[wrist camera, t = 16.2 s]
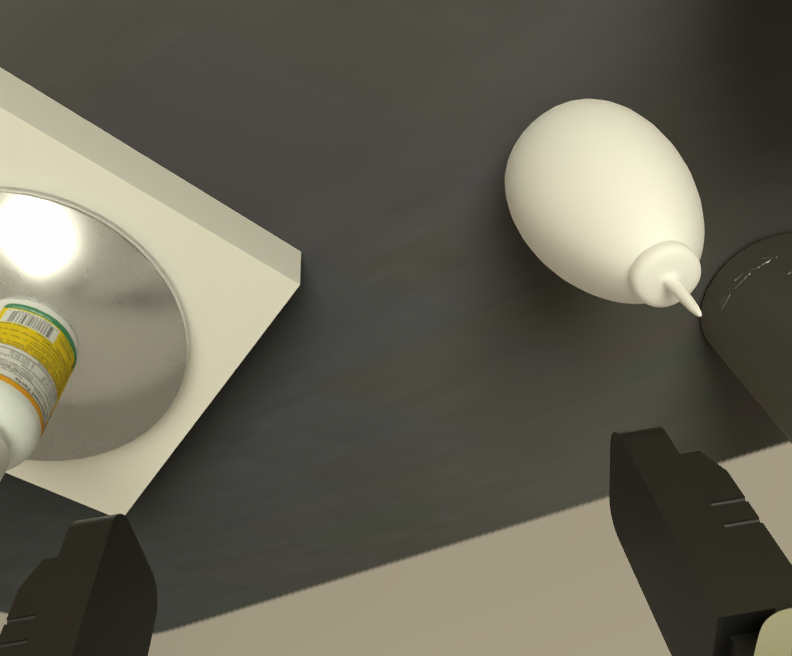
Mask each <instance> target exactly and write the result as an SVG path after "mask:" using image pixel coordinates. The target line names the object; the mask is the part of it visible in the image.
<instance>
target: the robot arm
mask: <svg viewBox="0 0 792 656" xmlns="http://www.w3.org/2000/svg"><path fill="white" fill-rule="evenodd" d="M701 313H702V316H701V326H702V330H703V333H704V335H705V338H706V339H707V341H708V342H709V343H710V345H711V346H712V347H713V348H714V350H715V351H716V352H717V353H718V354H719V356H720V357H721V358H722V359H723V361H724V362H725V363H726V364H727V365H728V367H729V368H730V369H731V370H732V372H733V373H734V374H735V375H736V377H737V378H738V379H739V380H740V382H741V383H742V384H743V385H744V386H745V388H746V389H747V390H748V391H749V393H750V394H751V395H752V396H753V397H754V399H755V400H756V401H757V402H758V403H759V405H760V406H761V407H762V408H763V409H764V411H765V412H766V413H767V414H768V415H769V417H770V418H771V419H772V420H773V421H774V423H775V424H776V425H777V426H778V427H779V429H780V430H781V431H782V432H783V433H784V435H785V436H786V437H787V438H788V439H789V441H790V442H791V443H792V233H786V234H781V235H776V236H771V237H769V238H766V239H764V240H761V241H759V242H756V243H754V244H752V245H751V246H749V247H747V248H746V249H744V250H742V251H740V252H739V253H738V254H737V255H735V256H734V257H733V258H732V259H731V260H729V261H728V262H727V263H726V264H725V265H724V266H723V268H722V269H721V270H720V271H719V272H718V273H717V274H716V276H715V277H714V279H713V281H712V282H711V284H710V285H709V287H708V289H707V291H706V294H705V297H704V299H703V302H702V308H701ZM609 497H610V510H611V515H612V520H613V524H614V527H615V530H616V533H617V536H618V538H619V541H620V543H621V545H622V547H623V549H624V552H625V554H626V556H627V558H628V560H629V562H630V565H631V567H632V569H633V572H634V574H635V576H636V578H637V580H638V583H639V584H640V587H641V589H642V591H643V594H644V596H645V598H646V600H647V602H648V604H649V607H650V609H651V611H652V613H653V615H654V618H655V620H656V622H657V624H658V627H659V629H660V631H661V633H662V635H663V638H664V640H665V642H666V644H667V646H668V648H669V651H670V652H671V655H672V656H792V565H791V563H790V562H789V561H788V559H787V558H786V556H785V555H784V553H783V552H782V550H781V549H780V547H779V546H778V545H777V543H776V542H775V540H774V539H773V537H772V536H771V534H770V533H769V531H768V530H767V528H766V527H765V526H764V524H763V523H760V521H759V517H758V515H757V514H756V513H755V511H754V509H753V508H752V507H751V505H750V504H749V502H746V501H745V496H744V495H743V494H742V492H741V491H740V489H739V488H738V486H737V485H736V483H735V482H734V480H733V479H732V477H731V476H730V474H729V473H728V472H727V471H726V470H725V469H723V468H722V467H721V466H719V465H718V464H717V463H715V462H714V461H712V460H711V459H710V458H708V457H707V456H705V455H704V454H703V453H701V452H700V451H696V452H691V453H685V454H679V452H678V451H677V449H676V448H675V446H674V444H673V443H672V441H671V440H670V438H669V436H668V435H667V433H666V432H665V430H664V429H663V428H662V427H661V426H660V425H655V426H649V427H643V428H637V429H631V430H625V431H619V432H614V433H613V434H612V436H611V445H610V496H609ZM156 613H157V589H156V583H155V579H154V576H153V573H152V571H151V569H150V566H149V564H148V562H147V560H146V558H145V556H144V553H143V551H142V549H141V547H140V545H139V542H138V540H137V538H136V536H135V534H134V532H133V529H132V527H131V525H130V523H129V521H128V519H127V518H126V516H125V515H123V514H114V515H108V516H102V517H96V518H90V519H84V520H79V521H75V522H73V523H72V524H71V525H70V527H69V529H68V531H67V534H66V537H65V539H64V542H63V545H62V547H61V550H60V553H59V555H58V557H55V558H49V559H44V560H42V561H41V563H40V564H39V565H38V566H37V567H36V569H35V570H34V571H33V572H32V573H31V575H30V576H29V577H28V578H27V579H26V581H25V582H24V583H23V584H22V585H21V587H20V588H19V590H18V592H17V595H16V597H15V600H14V602H13V605H12V607H11V609H10V612H9V614H8V617H7V625H4V627H3V629H2V632H1V634H0V656H148V651H149V646H150V641H151V637H152V632H153V627H154V623H155V618H156Z"/></svg>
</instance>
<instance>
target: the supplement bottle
mask: <svg viewBox="0 0 792 656" xmlns="http://www.w3.org/2000/svg"><path fill="white" fill-rule="evenodd" d="M78 355H79V348H78V343H77V339H76V337H75V334H74V332H73V331H72V329H71V327H70V326H69V324H68V323H67V322H66V321H65V320H64V319H63V318H62V317H61V316H60V315H58V314H57V313H56V312H55V311H53V310H51V309H50V308H48V307H46V306H44V305H42V304H39V303H36V302H33V301H29V300H23V299H6V300H0V481H1V479H2V477H3V476H4V474H5V472H6V471H8V470H10V469H13V468H14V467H16V466H18V465H20V464H21V463H22V462H24V461H25V460H26V459H27V458H28V457H29V456H30V455H31V454H32V452H33V451H34V449H35V448H36V446H37V444H38V442H39V440H40V439H41V437H42V434H43V432H44V430H45V428H46V426H47V424H48V422H49V420H50V417H51V415H52V413H53V411H54V409H55V407H56V405H57V403H58V401H59V399H60V397H61V395H62V393H63V391H64V389H65V387H66V384H67V382H68V380H69V378H70V376H71V374H72V372H73V370H74V367H75V365H76V363H77V360H78Z"/></svg>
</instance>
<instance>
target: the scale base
mask: <svg viewBox="0 0 792 656" xmlns="http://www.w3.org/2000/svg"><path fill="white" fill-rule="evenodd" d="M0 186H9V187H16V188H24V189H31V190H36V191H40V192H44V193H48V194H52V195H56V196H59V197H61V198H64V199H67V200H70V201H72V202H75V203H78V204H80V205H82V206H84V207H86V208H88V209H90V210H92V211H94V212H96V213H98V214H100V215H102V216H104V217H105V218H107V219H108V220H110V221H111V222H113V223H114V224H116V225H118V226H119V227H121V228H122V229H123V230H124V231H126V232H127V233H128V234H129V235H131V236H132V237H133V238H134V239H136V240H137V241H138V242H139V243H140V244H141V245H142V246H143V247H144V248H145V249H146V250H147V251H148V252H149V253H150V254H151V255H152V256H153V257H154V259H155V260H156V261H157V262H158V264H159V265H160V266H161V268H162V269H163V270H164V272H165V273H166V274H167V276H168V278H169V280H170V281H171V283H172V285H173V286H174V288H175V290H176V292H177V294H178V297H179V299H180V302H181V304H182V306H183V310H184V313H185V317H186V321H187V326H188V336H189V350H188V360H187V364H186V369H185V373H184V377H183V381H182V384H181V386H180V389H179V391H178V393H177V396H176V398H175V399H174V401H173V402H172V404H171V406H170V407H169V409H168V410H167V412H166V413H165V414H164V415H163V416H162V417H161V419H160V420H159V421H158V422H157V423H156V424H155V425H153V426H152V427H151V428H150V429H149V430H148V431H146V432H145V433H144V434H142V435H141V436H139V437H138V438H136V439H135V440H133V441H131V442H129V443H127V444H125V445H123V446H121V447H119V448H117V449H114V450H111V451H109V452H106V453H103V454H100V455H96V456H91V457H87V458H82V459H74V460H66V461H35V460H25V461H24V462H22V463H21V464H20V465H18V466H16V467H14V468H13V469H10V470H8V471H6V472H5V473H8V474H10V475H13V476H15V477H18V478H20V479H22V480H25V481H27V482H30V483H32V484H35V485H37V486H40V487H42V488H44V489H47V490H49V491H52V492H54V493H57V494H59V495H62V496H64V497H66V498H69V499H71V500H74V501H76V502H79V503H81V504H84V505H86V506H88V507H91V508H93V509H96V510H98V511H101V512H103V513H106V514H108V515H114V514H123V515H126V513H127V512H128V511H129V509H130V508H131V507H132V505H133V504H134V503H135V501H136V500H137V499H138V497H139V496H140V495H141V493H142V492H143V491H144V490H145V488H146V487H147V486H148V484H149V483H150V482H151V480H152V479H153V478H154V476H155V475H156V474H157V472H158V471H159V470H160V468H161V467H162V466H163V465H164V463H165V462H166V461H167V459H168V458H169V457H170V455H171V454H172V453H173V451H174V450H175V449H176V447H177V446H178V445H179V443H180V442H181V441H182V440H183V438H184V437H185V436H186V434H187V433H188V432H189V430H190V429H191V428H192V426H193V425H194V424H195V422H196V421H197V420H198V418H199V417H200V416H201V415H202V413H203V412H204V411H205V409H206V408H207V407H208V405H209V404H210V403H211V401H212V400H213V399H214V397H215V396H216V395H217V393H218V392H219V391H220V390H221V388H222V387H223V386H224V384H225V383H226V382H227V380H228V379H229V378H230V376H231V375H232V374H233V372H234V371H235V370H236V368H237V367H238V366H239V365H240V363H241V362H242V361H243V359H244V358H245V357H246V355H247V354H248V353H249V351H250V350H251V349H252V347H253V346H254V345H255V343H256V342H257V341H258V340H259V338H260V337H261V336H262V334H263V333H264V332H265V330H266V329H267V328H268V326H269V325H270V324H271V322H272V321H273V320H274V318H275V317H276V316H277V315H278V313H279V312H280V311H281V309H282V308H283V307H284V305H285V304H286V303H287V301H288V300H289V299H290V297H291V296H292V295H293V293H294V292H295V291H296V290H297V288H298V287H299V286H300V271H301V251H299V250H297V249H296V248H294V247H293V246H291V245H289V244H288V243H286V242H284V241H283V240H281V239H280V238H278V237H276V236H275V235H273V234H271V233H270V232H268V231H266V230H265V229H263V228H262V227H260V226H258V225H257V224H255V223H253V222H252V221H250V220H249V219H247V218H245V217H244V216H242V215H240V214H239V213H237V212H235V211H234V210H232V209H231V208H229V207H227V206H226V205H224V204H222V203H221V202H219V201H218V200H216V199H214V198H213V197H211V196H209V195H208V194H206V193H204V192H203V191H201V190H200V189H198V188H196V187H195V186H193V185H191V184H190V183H188V182H187V181H185V180H183V179H182V178H180V177H178V176H177V175H175V174H173V173H172V172H170V171H169V170H167V169H165V168H164V167H162V166H160V165H159V164H157V163H156V162H154V161H152V160H151V159H149V158H147V157H146V156H144V155H142V154H141V153H139V152H138V151H136V150H134V149H133V148H131V147H129V146H128V145H126V144H125V143H123V142H121V141H120V140H118V139H116V138H115V137H113V136H111V135H110V134H108V133H107V132H105V131H103V130H102V129H100V128H98V127H97V126H95V125H94V124H92V123H90V122H89V121H87V120H85V119H84V118H82V117H80V116H79V115H77V114H76V113H74V112H72V111H71V110H69V109H67V108H66V107H64V106H63V105H61V104H59V103H58V102H56V101H54V100H53V99H51V98H49V97H48V96H46V95H45V94H43V93H41V92H40V91H38V90H36V89H35V88H33V87H32V86H30V85H28V84H27V83H25V82H23V81H22V80H20V79H18V78H17V77H15V76H14V75H12V74H10V73H9V72H7V71H5V70H4V69H2V68H1V67H0Z"/></svg>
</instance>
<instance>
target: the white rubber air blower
mask: <svg viewBox="0 0 792 656" xmlns="http://www.w3.org/2000/svg"><path fill="white" fill-rule="evenodd" d="M505 195H506V200H507V203H508V207H509V210H510V214H511V217H512V219H513V221H514V223H515V225H516V227H517V229H518V231H519V232H520V234H521V236H522V238H523V239H524V241H525V242H526V244H527V245H528V246H529V247H530V249H531V250H532V251H533V252H534V253H535V255H536V256H537V257H538V258H539V259H540V260H541V261H542V262H543V263H544V264H545V265H546V266H547V267H548V268H550V269H551V270H552V271H553V272H554V273H556V274H557V275H558V276H559V277H561V278H562V279H564V280H565V281H567V282H568V283H570V284H572V285H574V286H576V287H577V288H579V289H581V290H583V291H585V292H587V293H589V294H592V295H594V296H597V297H600V298H604V299H607V300H611V301H615V302H619V303H629V304H643V303H646V304H647V305H650V306H653V307H668V306H671V305H674V304H676V303H678V302H681V303H682V304H683V305H684V306H685V307H686V308H687V309H688V310H689V311H690V312H692V313H693V314H694V315H696V316H698V317H701V316H702V313H701V310H700V308H699V306H698V305H697V303H696V302H695V300H694V299H693V298H692V296H691V295H690V293H691V292H692V291H693V290H694V289H695V287H696V286H697V284H698V282H699V280H700V277H701V265H700V262H699V261H700V258H701V255H702V251H703V244H704V233H705V230H704V219H703V211H702V205H701V201H700V197H699V194H698V191H697V188H696V186H695V183H694V180H693V178H692V175H691V173H690V171H689V169H688V167H687V165H686V164H685V162H684V161H683V159H682V157H681V156H680V154H679V153H678V151H677V150H676V148H675V147H674V146H673V144H672V143H671V142H670V141H669V140H668V139H667V138H666V137H665V136H664V135H663V134H662V133H661V132H660V131H659V130H658V129H657V128H656V127H655V126H654V125H653V124H652V123H651V122H649V121H648V120H646V119H645V118H643V117H642V116H640V115H639V114H637V113H636V112H634V111H632V110H631V109H629V108H626V107H624V106H621V105H618V104H616V103H613V102H610V101H606V100H597V99H581V100H573V101H569V102H566V103H563V104H561V105H558V106H555V107H554V108H552V109H550V110H548V111H547V112H545V113H543V114H542V115H541V116H540V117H538V118H537V119H536V120H535V121H533V122H532V123H531V124H530V125H529V126H528V127H527V129H526V130H525V131H524V132H523V133H522V134H521V136H520V137H519V139H518V140H517V142H516V143H515V145H514V147H513V149H512V152H511V154H510V156H509V158H508V162H507V167H506V172H505Z"/></svg>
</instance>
